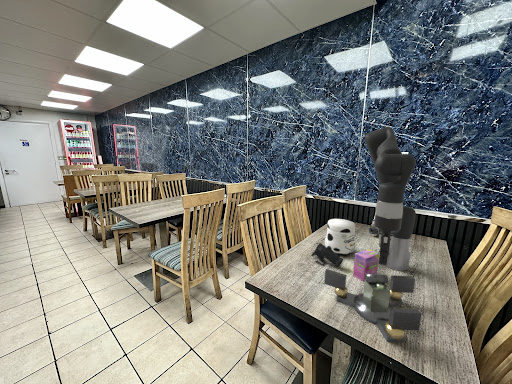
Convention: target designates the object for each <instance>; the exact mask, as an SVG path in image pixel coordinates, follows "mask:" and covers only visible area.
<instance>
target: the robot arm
mask: <svg viewBox="0 0 512 384" xmlns="http://www.w3.org/2000/svg"><path fill="white" fill-rule="evenodd" d="M364 140H365V141H364V142H365V144H366V147H367V150H368V153H369V155H370V157H371V161H372V163H373V166H374V170H375V172H376V176H377V180H378V184H379V186H378V193H377V201H376V205H375V213H374V220H375V221H374V225H375V227H377V228H379V229H382V231H380V232H379V235H378V239H379V240H378V247H379V251H378V253H379V259H378V264H379V265H381V266H387V268H390V269H392V270H394V271H399V272H400V271H401V272H402V271H406V270H409V267H410V259H411V251H410V244H411V237H412V234H413V231H414V227H415V224H416V223H415V221H416V218H417V217H416V216H417V213H416V210H415V208H413V207H410V206H405V205H404V197H405V190H406V187H407V185H408V182H409V179H410V178H411V176H412V174H413V172H414V169H415V168H416V159H415V157H414V156H413V155H412V154H410V153H403V152H402V151H401V149H400V148H399V146H398V141H397V136H396V134H395V131H394V129H393V128H392V127H390V126H385V127H382V128H378V129H376V130H373V131H371V132H368V133H366V134H365V135H364Z"/></svg>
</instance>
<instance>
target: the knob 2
mask: <svg viewBox="0 0 512 384" xmlns="http://www.w3.org/2000/svg"><path fill="white" fill-rule="evenodd" d="M421 321H422V312H421V311H420V310H419V309H418V308H402V307H395V308H391V309H390V316H389V321H387V322H386V328H385V331H386V333H387V334H388V335H389V336H391V337H392V338H394V339H397V340H402V339H403V338H404V337H405V331H418V332H419V331H420V327H421Z"/></svg>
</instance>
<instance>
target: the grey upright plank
mask: <svg viewBox="0 0 512 384" xmlns="http://www.w3.org/2000/svg"><path fill="white" fill-rule="evenodd" d="M323 285H327V286H330V287H333V288H334V293H335V295H336V296H337V295H338V296H340V297H346V296H347V292H349V291H348V290H349V289H348V287H346V286H347V274H345V273H342V272H338V271H334V270H331V269H329V268H326V269H325V271H324V284H323Z"/></svg>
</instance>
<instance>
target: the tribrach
mask: <svg viewBox="0 0 512 384" xmlns="http://www.w3.org/2000/svg"><path fill="white" fill-rule="evenodd" d="M364 277H365V281H364V284H363V292H361V293H357V294H354V293H351V292H349V291H348V292H347V296H346V297H340V296H338V295H336V302H339V303H341V304H344V305H347V306H349V307H352V308H354V310H355V312H356V313H357V314H358V315H359V316H360V317H361V318H363V319H364V320H366V321H368V322H369V323H371V324H374V325H376V327H377V328H378V330H379V331H380V333H381V335H382V337H383V338H384V339H385V341H386V342H391V343H392V342H393V343H405V339H406V337H405V336H404V338H403V339H402V340H397V339H394V338H392V337H391V336H389V335H388V334H387V333H386V331H385V328H386V322H387V321H389V316H390V309H391V308H398V307H399V306H401V305H402V302H403V298H401V299H399V300H396V299H393V298H391V297H390V289H389V288H388V287H389V286H387V284H388V283H389V277H388V275H386V274H379V273H378V274H365V276H364Z"/></svg>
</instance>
